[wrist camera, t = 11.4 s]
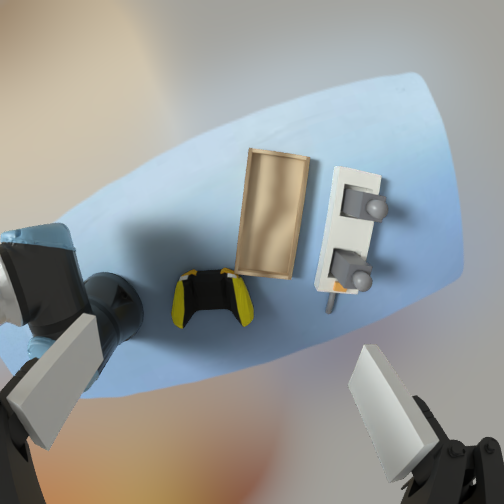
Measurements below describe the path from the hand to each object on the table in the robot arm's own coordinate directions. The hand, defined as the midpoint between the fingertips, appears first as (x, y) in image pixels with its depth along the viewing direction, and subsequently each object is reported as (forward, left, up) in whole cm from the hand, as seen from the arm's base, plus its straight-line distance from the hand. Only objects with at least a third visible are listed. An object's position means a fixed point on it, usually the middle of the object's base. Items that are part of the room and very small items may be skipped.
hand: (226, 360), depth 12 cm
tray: (+5, +2, -37) cm, 37 cm away
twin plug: (+19, -4, -36) cm, 41 cm away
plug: (+19, +6, -36) cm, 41 cm away
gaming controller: (-4, -14, -37) cm, 40 cm away
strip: (+19, -2, -37) cm, 41 cm away
